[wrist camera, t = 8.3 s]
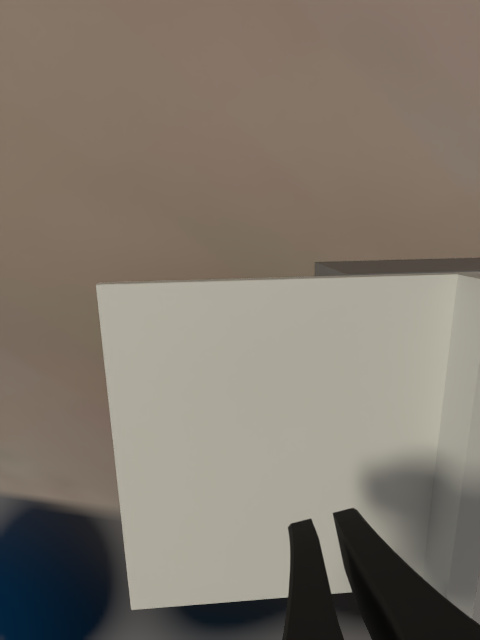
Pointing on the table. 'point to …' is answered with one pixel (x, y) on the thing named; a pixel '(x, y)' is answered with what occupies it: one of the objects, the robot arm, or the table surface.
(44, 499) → the table surface
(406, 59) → the table surface
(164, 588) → the lid
